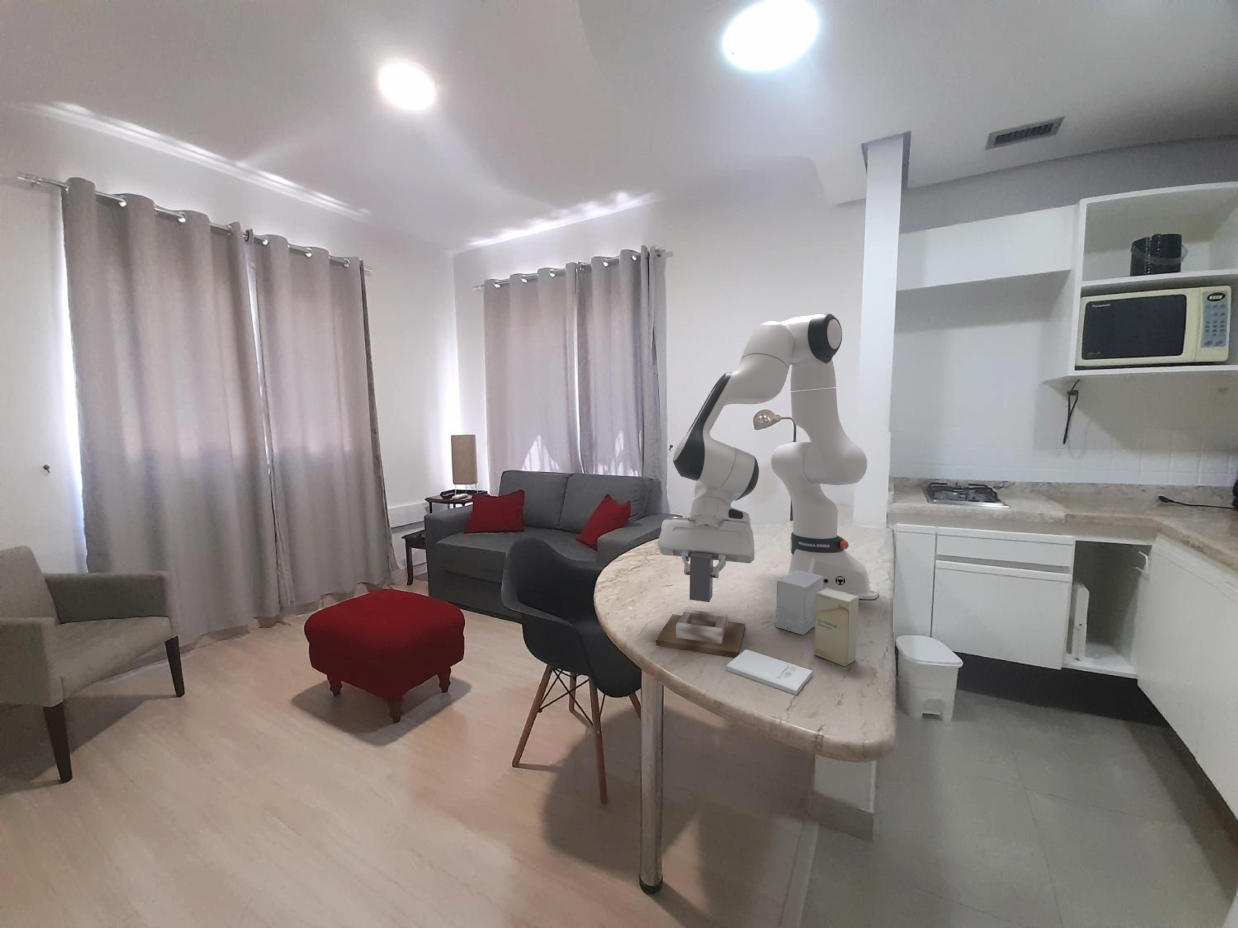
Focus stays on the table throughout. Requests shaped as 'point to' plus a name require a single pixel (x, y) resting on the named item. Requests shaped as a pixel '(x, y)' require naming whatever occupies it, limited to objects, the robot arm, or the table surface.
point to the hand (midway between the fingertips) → (701, 575)
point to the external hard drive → (770, 671)
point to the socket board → (703, 633)
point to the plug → (701, 576)
